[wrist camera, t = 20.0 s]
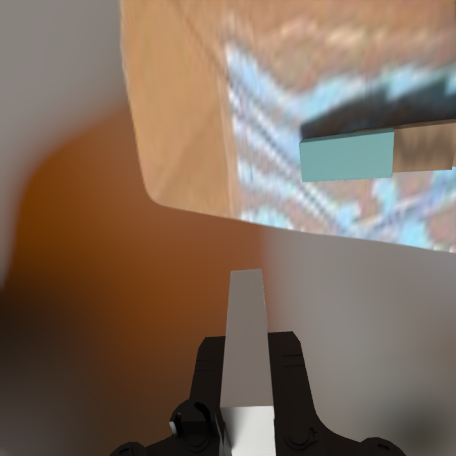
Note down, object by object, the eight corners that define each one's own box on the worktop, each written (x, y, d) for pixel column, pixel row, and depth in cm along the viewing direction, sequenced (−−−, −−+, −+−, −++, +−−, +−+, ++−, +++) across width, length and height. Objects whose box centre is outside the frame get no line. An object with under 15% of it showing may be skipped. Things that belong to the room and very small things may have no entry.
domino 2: (353, 133, 33) (459, 122, 29) (354, 130, 35) (454, 118, 30) (353, 174, 35) (451, 169, 31) (353, 168, 37) (447, 163, 33)
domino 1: (299, 143, 34) (394, 131, 29) (303, 139, 36) (393, 127, 31) (302, 182, 36) (391, 177, 31) (306, 176, 38) (390, 170, 33)
